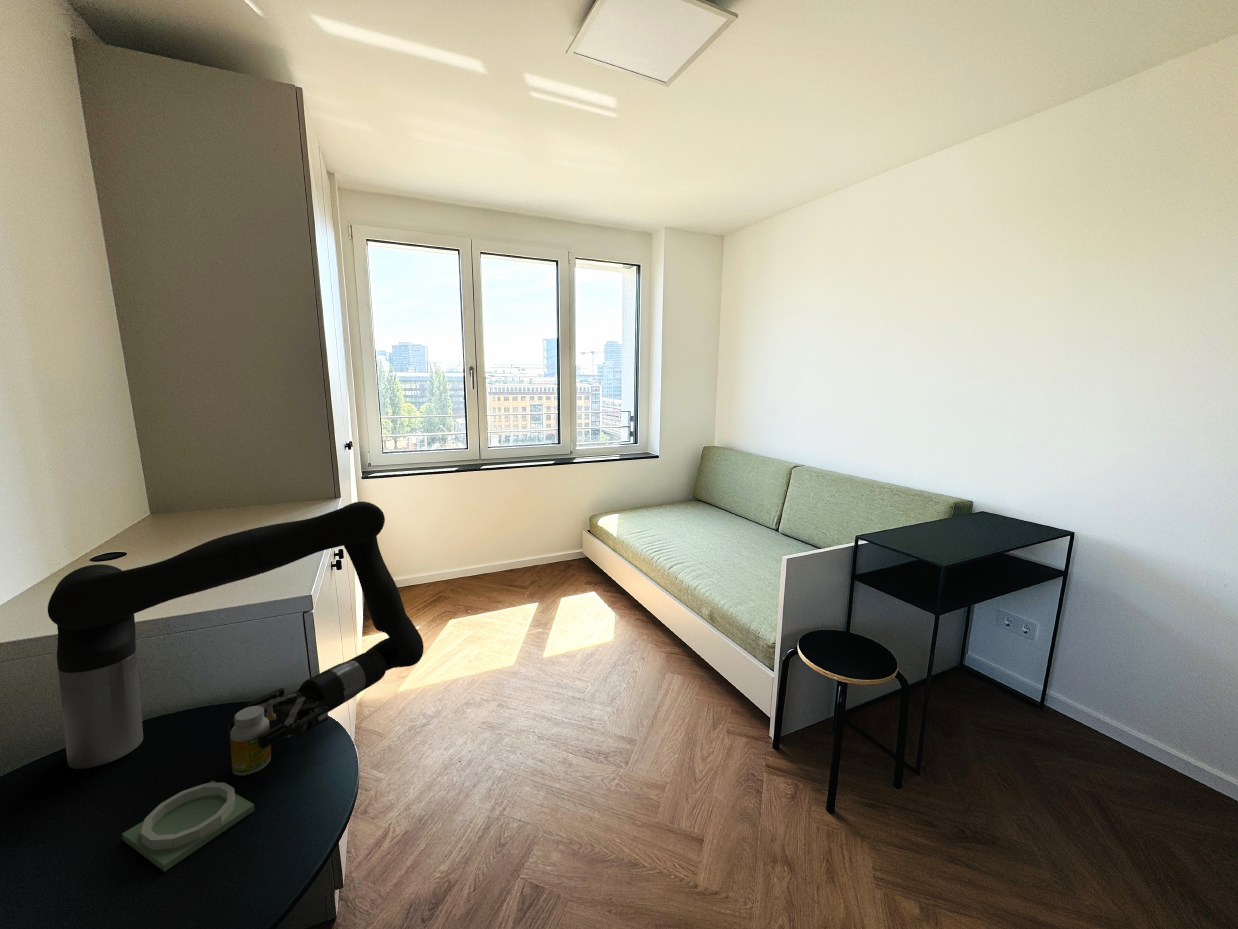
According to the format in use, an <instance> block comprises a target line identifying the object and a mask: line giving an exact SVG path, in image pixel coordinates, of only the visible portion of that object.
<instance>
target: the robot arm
mask: <svg viewBox="0 0 1238 929" xmlns="http://www.w3.org/2000/svg"><path fill="white" fill-rule="evenodd" d="M385 522H386V518H385V513H384V512H383V510H382V509H381V508H380V507H379V506H377V505H376V504H375V503H372V502H368V501H355V502H352V503H349V504H347V505H344V506H343V507H340V508H338V509H335V510H332V511H329V512H326V513H323V514H320V515H317V516H313V517H310V518H306V519H305V518H304V519H300V520H293V521H287V522H281V523H274V524H270V525H263V526H260V527H255V528H250V529H247V530H242V531H238V532H235V533H231V534H227V535H223V536H219V537H217V538H214V539H210V540H208V541H206V542H203V543H201V544H199V545H197V546H194V547H191V548H190V549H187V550H186V551H183V552H181V553H179V554H176V555H174V556H172V557H170V558H169V557H168V558H167V559H164V560H160V561H158V562H155V563H151V564H148V565H142V566H137V567H134V568H129V569H124V570H122V569H121V568H118V567H117V566H113V565H110V564H103V563H102V564H99V563H97V564H91V565H85V566H82V567H79V568H76V569H74V570H72V571H71V572H69V573H68V574H66V575H65V576H64V577H63V578H61V580H60V581H58V583H57V585H56V587H55V588H54V590H53V592H52V594H51V596H50V598H49V601H48V603H47V615H48V617H49V619H50V620H51V622H53V624H55V625H56V626H57V647H56V663H57V671H58V672H57V673H58V681H59V682H58V683H59V691H60V699H61V701H60V702H61V709H62V719H63V729H64V740H65V750H66V760H67V766H68V767H69V768H71V769H75V770H77V769H78V770H82V769H84V770H85V769H91V768H95V767H99V766H103V765H105V764H109V763H111V762H113V761H116V760H119V759H121V758H122V757H125V756H126V755H128V754H130V753H131V752H133V751H134V750H135V749H137V748H138V747H139V746H140V745H141V744H142V742H143V740H144V733H143V731H144V730H143V716H142V715H143V714H142V706H141V704H142V703H141V692H140V682H139V680H140V679H139V678H140V677H139V670H138V669H139V668H138V658H137V642H136V620H135V614H137V613H140V612H143V611H145V610H148V609H150V608H153V607H155V606H157V605H161V604H163V603H166V602H169V601H172V600H175V599H178V598H182V597H186V596H189V595H193V594H198V593H201V592H204V591H207V590H208V591H209V590H210V589H215V588H218V587H221V586H224V585H228V584H232V583H235V582H238V581H242V580H245V579H249V578H251V577H255V576H259V575H261V574H262V575H263V574H265V573H268V572H271V571H272V570H276V569H280V568H282V567H284V566H287V565H290V564H292V563H295V562H297V561H300V560H302V559H305V558H306V557H309V556H311V555H314V554H317V553H320V552H322V551H327V550H330V549H335V548H338V547H339V548H340V547H344V549H345V551H346V553H347V555H348V557H349V559H350V561H351V563H352V565H353V568H354V570H355V573H356V576H357V579H358V581H359V585H360V588H361V591H362V593H363V597H364V600H365V603H366V607H367V610H368V613H369V616H370V619H371V622H372V624H373V627H374V628H375V630H376V631H378V632H382V633H385V634H386V635H387V636H388V637H387V638H384V639H382V640H381V641H378V642H377V643H376V644H374V645H373V646H371V647H370V648H369V649H367V650H366V651H365V652H363V653H360V654H358V655H357V656H355V657H354V656H353V658H351V659H348V660H346V661H344V662H341V663H338V664H336V665H334V666H331V667H330V668H328V669H326V670H324V671H322V672H319V673H318V674H316V675H313V676H312V677H310V678H308V679H306V680H304V681H303V682H302V683H301V685H300V687H299V688H298V689H297V691H294V692H290V693H285V690H286V689H285V688H284V687H282V688H279V689H278V688H277V689H276V690H274V691H272V692H269V693H267V694H265V695H262V696H261V697H259V698H256V699H254V700H252V701H250V702H248V707H252V706H261V707H263V709H264V717H265V718H267V719H268V720H269V722H270V721H274V720H280V721H283V722H284V723H283V724H282V723H280V724H278V725H276V726H275V727H273V728H270V730H269V731H267V732H266V733H264V734H262V735H260V736H259V738H258V747H259V748H261V749H264V748H266V747H268V746H270V745H271V746H272V745H274V744H275V743H277V742H278V741H279V742H280V741H281V740H282V739H284V738H291V737H292V736H294V738H295V739H300V738H302V737H304V736H305V735H307V734H308V733H311V731H313V730H315V729H316V728H318V727H319V726H321V725H322V724H324V723H325V722H327V721H328V719H329V713H330V712H332V711H333V710H335V709H336V708H338V707H340V706H342V705H343V704H346V703H347V702H348V701H350V700H351V699H353V698H355V697H356V696H357V695H359V694H360V693H361V692H363V691H365V690H366V689H368V688H370V687H372V686H373V685H375V684H377V683H379V681H380V680H382V679H383V678H384V676H385V675H386V672H387V671H390V670H392V669H397V668H405V667H406V668H407V667H412V666H415V665H416V664H418V663H419V662H420V661H421V659H422V657H423V655H424V648H425V647H424V641H423V638H422V636H421V634H420V632H419V630H418V629H417V628H416V626H415V624H414V623H413V621H412V619H411V618H410V617H409V615H408V614H407V613H406V609H405V607H404V602H403V600H402V597H401V594H400V591H399V588H398V586H397V584H396V582H395V580H394V578H393V576H392V574H391V573H390V571H389V569H388V567H387V565H386V562H385V560H384V558H383V556H382V553H381V551H380V550H381V549H380V547H379V542H378V535H379V534H380V533H381V532H382V530H383V528H384V526H385ZM274 708H275V713H274ZM227 723H228V724H227V729H228V730H227V731H228V733H231V730H232V729H233V727H234V726H235V719H234V718H233V719H230V721H228V722H227ZM304 725H306V726H305V727H304Z"/></svg>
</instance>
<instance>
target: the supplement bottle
mask: <svg viewBox="0 0 1238 929" xmlns="http://www.w3.org/2000/svg"><path fill="white" fill-rule="evenodd" d="M264 714H265V711H264V709H263V707H261V706H252V707H249V706H248V707H245V708H243V709H241V710H239V711H237V713H236V714H234V718H233V719H235V726H234V727H233V729H232V730H231V733H230V732H229V733H230V738H229V739H230V758H231V769H232V770H231V771H232V773H233V774H234V775H236V776H247V774H248V775H251V773H252V774H255V773H257V772H259V771H261V770H263V769H264V768H265V767H266V766H268V765H269V763H270V762H271V759H272V749H271V746H272V745H270V746H268V747H266V748H264V749H261V748H259V747H258V738H259V736H260V735H262V734H264V733H266V732H267V731H269V730H271V727H270V721H269V720H268V719H267V718H265V717H264ZM254 772H255V773H254Z"/></svg>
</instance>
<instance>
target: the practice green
mask: <svg viewBox="0 0 1238 929" xmlns="http://www.w3.org/2000/svg"><path fill="white" fill-rule="evenodd" d="M254 811H255V804H254V803H252V802H251V801H249V800H247V799H245V798H244V797H242V796H240V795H239V794H237V793H235V787H233V786H231V785H229V784H227V783H226V782H216V781H215V780H211V781H209V782H208V783H203V784H200V785H196V786H193V787H191V788H188V789H185V790H182V791H180V792H178V793H176V794H175V795H173V796H171V797H169V798H168V799H166V800H164V801H162V802H161V803H160V804H158V805H157V806H156V807H155V808H154V809H153V810H152V811H151V812H150V813H149V814H148V815H147V816H146V817H145V818H144V820H143V821H141V822H139V823H138V824H136V825H134V826H133V827H131V828H130V829H127V830H126V831H124V832H122V834H121V835H122V836H121V837H122V841H123V842H124V843H126V844H127V845H129V846H130V847H131V848H132V849H134V850H135V851H136V852H138V853H139V854H140V855H142V857H144V858H146V859H147V860H148V861H150V863H152V864H153V865H154V866H156V867H157V868H159V870H161V871H162V872H164V873H165V872H166V871H168V870H169V869H171V868H172V867H174V866H175V865H177V864H178V863H180V862H181V861H183V860H184V859H186V858H187V857H189V856H190V855H191V854H193V853H194V852H195V851H197V850H199V849H200V848H202V847H203V846H205V845H206V844H208V843H209V842H210V841H212V840H213V839H215V838H217V836H220V834H222V833H224V832H225V831H227V830H228V829H229V828H231V827H233V826H234V825H235V824H237V823H238V822H240V821H241V820H243V819H244V818H246V817H247V816H248V815H250V814H252V813H254Z"/></svg>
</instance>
